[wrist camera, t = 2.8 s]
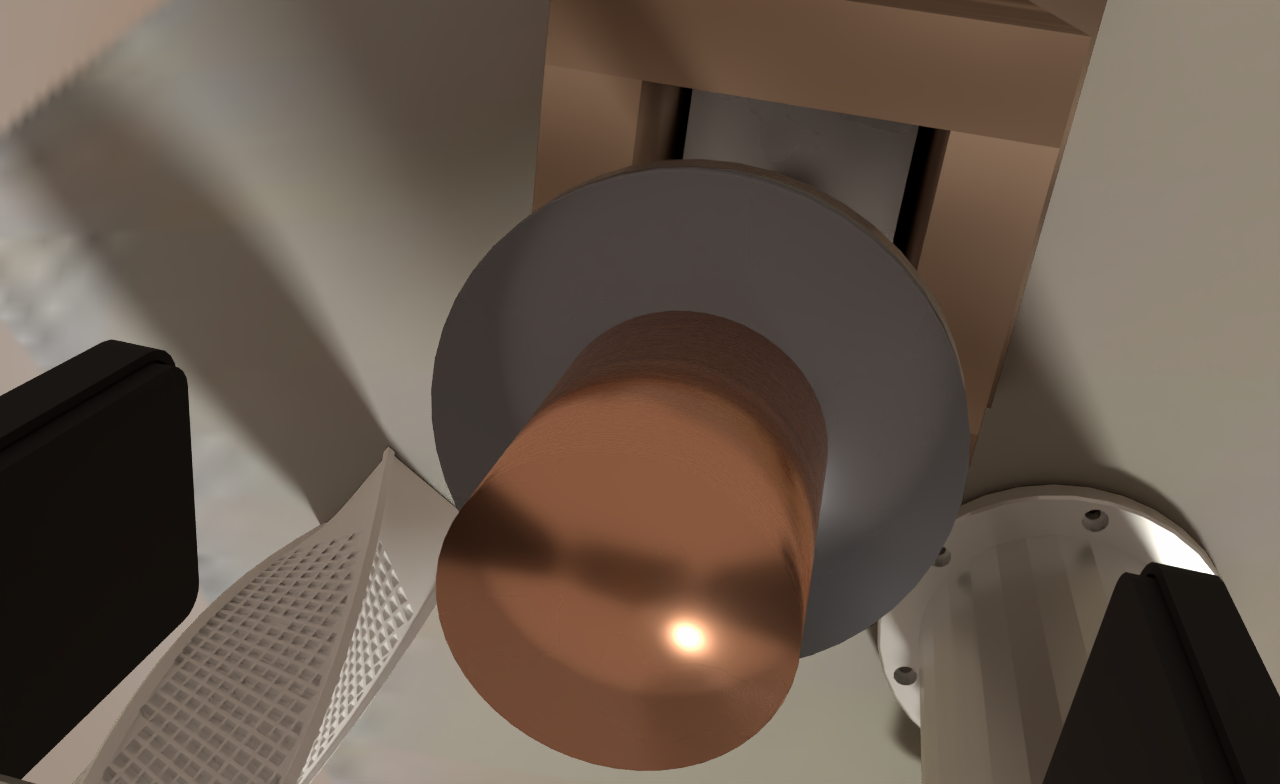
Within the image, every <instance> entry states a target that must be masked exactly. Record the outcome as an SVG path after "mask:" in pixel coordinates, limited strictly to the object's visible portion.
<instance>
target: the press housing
mask: <svg viewBox="0 0 1280 784" xmlns="http://www.w3.org/2000/svg"><path fill="white" fill-rule="evenodd" d="M1106 3H1107V0H550V10H549V21H548V33H547V45H546V57H545V69H544V80H543V92H542V104H541V116H540V128H539V139H538V151H537V163H536V175H535V187H534V198H533V210H532V213H534V212H535V211H536V210H537V209H539V208H540V207H542V206H543V205H545V204H546V203H548V202H549V201H551V200H552V199H554V198H555V197H557V196H559V195H560V194H562V193H563V192H565V191H566V190H568V189H570V188H573V187H575V186H577V185H579V184H581V183H583V182H585V181H587V180H590V179H592V178H594V177H596V176H599V175H602V174H605V173H608V172H612V171H615V170H618V169H621V168H625V167H628V166H632V165H638V164H644V163H650V162H656V161H662V160H681V159H683V154H684V147H685V140H686V133H687V126H688V119H689V112H690V105H691V98H692V91H693V89H698V90H704V91H710V92H716V93H723V94H729V95H735V96H741V97H747V98H753V99H759V100H765V101H772V102H778V103H784V104H790V105H796V106H802V107H808V108H815V109H821V110H827V111H833V112H839V113H845V114H851V115H858V116H864V117H870V118H876V119H882V120H888V121H894V122H901V123H907V124H913V125H919V128H918V132H917V137H916V141H915V146H914V150H913V154H912V159H911V163H910V168H909V172H908V176H907V181H906V185H905V189H904V194H903V198H902V203H901V207H900V211H899V216H898V220H897V224H896V229H895V233H894V238H893V242H892V243H893V244H894V245H895V246H896V247H897V248H898V249H899V250H900V251H901V252H902V253H903V254H904V256H905V257H906V258H907V259H908V261H909V262H910V263H911V264H912V266H913V267H914V268H915V269H916V271H917V272H918V273H919V274H920V276H921V277H922V278H923V279H924V281H925V283H926V285H927V286H928V288H929V290H930V291H931V293H932V295H933V296H934V298H935V300H936V302H937V303H938V305H939V307H940V308H941V310H942V312H943V315H944V317H945V320H946V322H947V324H948V327H949V329H950V332H951V334H952V336H953V339H954V341H955V344H956V348H957V352H958V356H959V360H960V364H961V368H962V372H963V376H964V384H965V391H966V399H967V408H968V418H969V428H970V450H969V466H970V462H971V459H972V455H973V452H974V448H975V445H976V441H977V438H978V434H979V431H980V427H981V424H982V420H983V417H984V413H985V410H986V407H987V408H991V405H992V401H993V398H994V394H995V391H996V387H997V384H998V380H999V377H1000V373H1001V370H1002V366H1003V363H1004V359H1005V356H1006V352H1007V349H1008V345H1009V342H1010V338H1011V335H1012V331H1013V328H1014V324H1015V321H1016V317H1017V314H1018V310H1019V307H1020V303H1021V300H1022V296H1023V293H1024V289H1025V286H1026V282H1027V279H1028V275H1029V272H1030V268H1031V265H1032V261H1033V258H1034V254H1035V251H1036V247H1037V244H1038V240H1039V237H1040V233H1041V230H1042V226H1043V223H1044V219H1045V216H1046V212H1047V209H1048V205H1049V202H1050V198H1051V195H1052V191H1053V188H1054V184H1055V181H1056V178H1057V174H1058V171H1059V167H1060V164H1061V160H1062V157H1063V153H1064V150H1065V146H1066V143H1067V139H1068V136H1069V132H1070V129H1071V125H1072V122H1073V118H1074V115H1075V111H1076V108H1077V104H1078V101H1079V97H1080V94H1081V90H1082V87H1083V83H1084V80H1085V76H1086V73H1087V69H1088V66H1089V62H1090V59H1091V55H1092V52H1093V48H1094V45H1095V41H1096V38H1097V34H1098V31H1099V27H1100V24H1101V20H1102V17H1103V13H1104V10H1105V6H1106ZM968 470H969V469H968Z"/></svg>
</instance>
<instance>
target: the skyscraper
mask: <svg viewBox="0 0 1280 784" xmlns="http://www.w3.org/2000/svg"><path fill="white" fill-rule="evenodd" d="M394 454H395V452H394V451H393V450H392V449H391V448H390V447H387V449H386V450H385V451H384V453H383V458H382V461H381V462H380V464H379V465H378V466H377V467H376V468H375V470H374V471H373V472H372V473H371V474H370V476H369V477H368V478H367V479H366V480H365V481H364V483H363V484H362V485H361V486H360V487H359V489H358V490H357V491H356V492H355V493H354V495H353V496H352V497H351V498H350V499H349V500H348V502H347V503H346V504H345V505H344V506H343V507H342V508H341V510H340V511H339V512H338V513H337V514H336V515H335V516H334V517H333V518H332V519H331V520H329V521H328V522H327V523H326V522H324V523H322V524H321V525H319V526H317V527H316V528H314V529H312V530H311V531H309V532H307V533H306V534H304V535H302V536H300V537H299V538H297V539H295V540H294V541H292V542H291V543H289V544H288V545H286V546H285V547H283V548H282V549H280V550H278V551H277V552H275V553H274V554H272V555H271V556H269V557H268V558H267V559H265V560H264V561H263V562H261V563H260V564H258V565H257V566H256V567H254V568H253V569H252V570H250V571H249V572H248V573H246V574H245V575H244V576H243V577H241V578H240V579H239V580H238V581H237V582H235V583H234V584H233V585H232V586H231V587H229V588H228V589H227V590H226V591H225V592H223V593H222V594H221V595H220V596H219V597H218V598H217V599H216V600H215V601H214V602H213V603H212V604H211V605H210V606H209V607H208V608H207V609H206V610H205V611H204V612H202V613H201V614H200V615H199V617H198V618H197V619H196V620H195V621H194V622H193V623H192V624H191V625H190V626H189V627H188V628H187V629H186V630H185V632H184V633H183V634H182V635H181V636H180V637H179V638H178V639H177V641H176V642H175V643H174V644H173V645H172V647H171V648H170V649H169V650H168V651H167V652H166V653H165V655H164V656H163V657H162V658H161V659H160V660H159V662H158V663H157V664H156V666H155V667H154V668H153V670H152V671H151V672H150V673H149V675H148V676H147V677H146V679H145V680H144V681H143V683H142V684H141V685H140V687H139V688H138V689H137V691H136V692H135V694H134V695H133V697H132V698H131V700H130V701H129V703H128V704H127V706H126V707H125V709H124V710H123V712H122V713H121V715H120V716H119V718H118V719H117V721H116V722H115V724H114V725H113V727H112V728H111V730H110V732H109V733H108V735H107V737H106V739H105V740H104V742H103V744H102V745H101V747H100V749H99V750H98V752H97V754H96V755H95V757H94V759H93V760H92V762H91V763H90V765H89V766H88V767H87V768H86V769H85V770H84V771H83V772H82V773H81V775H80V776H79V777H78V778H77V779H76V780H75V781H74V782H73V783H72V784H310V783H311V782H312V780H313V779H314V778H315V777H316V775H317V774H318V773H319V771H320V770H321V769H322V768H323V766H324V765H325V764H326V763H327V761H328V760H329V759H330V758H331V756H332V755H333V754H334V752H335V751H336V750H337V748H338V747H339V745H340V744H341V743H342V741H343V740H344V739H345V737H346V736H347V735H348V733H349V732H350V731H351V729H352V728H353V727H354V725H355V724H356V722H357V721H358V720H359V718H360V717H361V716H362V714H363V713H364V712H365V710H366V709H367V707H368V706H369V704H370V703H371V702H372V700H373V699H374V697H375V696H376V694H377V693H378V691H379V690H380V689H381V687H382V686H383V684H384V683H385V681H386V680H387V679H388V677H389V676H390V674H391V673H392V671H393V670H394V669H395V667H396V666H397V664H398V663H399V661H400V660H401V658H402V656H403V655H404V653H405V652H406V650H407V649H408V647H409V646H410V644H411V643H412V641H413V640H414V638H415V637H416V635H417V634H418V632H419V631H420V629H421V628H422V626H423V625H424V623H425V622H426V620H427V619H428V617H429V616H430V614H431V612H432V611H433V609H434V608H435V606H436V605H437V601H436V572H437V565H438V558H439V555H440V551H441V548H442V544H443V541H444V538H445V536H446V534H447V532H448V530H449V528H450V526H451V524H452V522H453V520H454V519H455V517H456V516H457V514H458V513H459V511H458V509H457V508H455V507H454V506H453V505H452V504H451V503H449V502H448V501H447V500H446V499H445V498H443V497H442V496H441V495H440V494H439V493H438V492H436V491H435V490H434V489H433V488H432V487H430V486H429V485H428V484H427V483H426V482H424V481H423V480H422V479H421V478H420V477H419V476H417V475H416V474H415V473H414V472H413V471H411V470H410V469H409V468H408V467H407V466H405V465H404V464H403V463H402V462H401V461H400V460H398V459H397V458H396V457H395V456H394Z"/></svg>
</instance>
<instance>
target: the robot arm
mask: <svg viewBox="0 0 1280 784" xmlns="http://www.w3.org/2000/svg"><path fill="white" fill-rule="evenodd" d="M1091 510H1098V511H1097V512H1095V513H1093V514H1088V513H1086V512H1089V511H1091ZM198 590H199V574H198V557H197V539H196V521H195V504H194V486H193V469H192V451H191V434H190V416H189V399H188V384H187V378H186V376H185V374H184V372H183V371H182V370H181V369H180V368H178V367H175V363H174V361H173V359H172V357H171V355H169V354H168V353H167V352H166V351H164V350H159V349H154V348H150V347H145V346H140V345H136V344H131V343H126V342H122V341H117V340H108V341H104V342H102V343H100V344H98V345H96V346H94V347H92V348H90V349H88V350H87V351H85V352H83V353H81V354H79V355H77V356H75V357H73V358H71V359H69V360H68V361H66V362H64V363H62V364H60V365H58V366H56V367H54V368H52V369H51V370H49V371H47V372H45V373H43V374H41V375H39V376H37V377H35V378H33V379H32V380H30V381H28V382H26V383H24V384H22V385H20V386H18V387H17V388H15V389H13V390H11V391H9V392H7V393H5V394H3V395H2V396H0V784H35V783H31V782H27V781H23V780H21V779H22V778H23V777H24V776H25V775H26V774H27V773H28V772H29V771H30V770H31V769H32V768H33V767H34V766H35V765H36V764H37V763H38V762H39V761H40V760H41V759H42V758H43V757H45V756H46V754H48V753H49V752H50V751H51V750H52V749H53V748H54V747H55V746H56V745H57V744H58V743H59V742H60V741H61V740H62V739H63V738H64V737H65V736H66V735H67V734H68V733H69V732H70V731H71V730H72V729H73V728H74V727H75V726H76V725H77V724H78V723H79V722H80V721H81V720H82V719H83V718H84V717H85V716H87V715H88V714H89V713H90V711H92V710H93V709H94V708H95V707H96V706H97V705H98V704H99V703H100V702H101V701H102V700H103V699H104V698H105V697H106V696H107V695H108V694H109V693H110V692H111V691H112V690H113V689H114V688H115V687H116V686H117V685H118V684H119V683H120V682H121V681H122V680H123V679H124V678H125V677H126V676H127V675H128V674H129V673H130V672H132V670H134V669H135V668H136V666H137V665H139V664H140V663H141V662H142V661H143V660H144V659H145V658H146V657H147V656H148V655H149V654H150V653H151V652H152V651H153V650H154V649H155V648H156V647H157V646H158V645H159V644H160V643H161V642H162V641H163V640H164V639H165V638H166V637H167V636H168V635H169V634H170V633H172V632H173V631H174V630H175V629H176V628H177V627H178V625H180V624H181V623H182V622H183V621H184V620H185V618H186V617H187V616H188V615H189V613H190V612H191V610H192V608H193V606H194V604H195V601H196V598H197V594H198ZM877 622H878V651H879V656H880V661H881V666H882V670H883V673H884V676H885V678H886V680H887V682H888V685H889V687H890V689H891V691H892V693H893V696H894V697H895V699H896V700H897V701H898V703H899V704H900V706H901V707H902V708H903V710H904V711H905V713H906V714H907V715H908V717H909V718H910V719H911V720H912V721H913V722H914V723H915V724H916V725H917V726H918V727H919V728H920V729H921V772H922V784H1280V696H1279V694H1278V692H1277V690H1276V688H1275V686H1274V684H1273V682H1272V680H1271V678H1270V676H1269V674H1268V672H1267V670H1266V668H1265V666H1264V664H1263V661H1262V659H1261V657H1260V655H1259V653H1258V651H1257V649H1256V647H1255V645H1254V643H1253V641H1252V639H1251V637H1250V635H1249V633H1248V631H1247V629H1246V627H1245V625H1244V623H1243V621H1242V619H1241V616H1240V614H1239V612H1238V610H1237V608H1236V606H1235V604H1234V602H1233V600H1232V598H1231V596H1230V594H1229V592H1228V590H1227V588H1226V586H1225V584H1224V582H1223V580H1222V577H1221V576H1220V574H1219V573H1218V571H1217V569H1216V568H1215V566H1214V565H1213V563H1212V561H1211V560H1210V558H1209V557H1208V555H1207V553H1206V552H1205V551H1204V550H1203V549H1202V548H1201V547H1200V546H1199V545H1198V544H1197V543H1196V542H1195V541H1194V540H1193V539H1192V537H1191V536H1190V535H1189V534H1188V533H1187V532H1186V531H1185V530H1184V529H1182V528H1181V527H1180V526H1178V525H1177V524H1175V523H1174V522H1172V521H1171V520H1169V519H1168V518H1166V517H1165V516H1163V515H1162V514H1160V513H1159V512H1158V511H1156V510H1154V509H1152V508H1150V507H1147V506H1145V505H1143V504H1141V503H1138V502H1136V501H1134V500H1131V499H1129V498H1127V497H1125V496H1121V495H1117V494H1113V493H1109V492H1105V491H1102V490H1098V489H1094V488H1090V487H1078V486H1066V485H1054V484H1053V485H1040V486H1027V487H1017V488H1013V489H1009V490H1005V491H1000V492H996V493H992V494H988V495H984V496H982V497H980V498H977V499H975V500H973V501H970V502H968V503H966V504H963V505H961V506H960V508H959V511H958V514H957V517H956V519H955V522H954V525H953V527H952V530H951V533H950V535H949V536H948V538H947V540H946V542H945V544H944V546H943V548H942V549H941V551H940V553H939V555H938V556H937V558H936V560H935V562H934V563H933V564H932V566H931V567H930V568H929V570H928V571H927V572H926V574H925V575H924V576H923V578H922V579H921V580H920V582H919V583H918V584H917V585H916V587H915V588H914V589H913V590H912V591H911V592H910V593H909V594H908V595H907V596H906V597H905V598H904V599H903V600H902V601H901V602H900V603H899V604H898V605H897V606H896V607H895V608H894V609H892V610H891V611H890V612H888V613H887V614H886V615H884V616H883V617H882V618H880V619H879V620H878V621H877Z"/></svg>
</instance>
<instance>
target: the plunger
mask: <svg viewBox="0 0 1280 784" xmlns="http://www.w3.org/2000/svg"><path fill="white" fill-rule="evenodd" d="M918 128H919V125H913V124H907V123H901V122H894V121H888V120H882V119H876V118H870V117H864V116H858V115H851V114H845V113H839V112H833V111H827V110H821V109H815V108H808V107H802V106H796V105H790V104H784V103H778V102H772V101H765V100H759V99H753V98H747V97H741V96H735V95H729V94H723V93H716V92H710V91H704V90H698V89H693V91H692V98H691V105H690V112H689V119H688V126H687V133H686V140H685V147H684V154H683V159H681V160H662V161H656V162H650V163H644V164H638V165H632V166H628V167H625V168H621V169H618V170H615V171H612V172H608V173H605V174H602V175H599V176H596V177H594V178H592V179H590V180H587V181H585V182H583V183H581V184H579V185H577V186H575V187H573V188H570V189H568V190H566V191H565V192H563V193H562V194H560V195H559V196H557V197H555V198H554V199H552V200H551V201H549V202H548V203H546V204H545V205H543V206H542V207H540V208H539V209H537V210H536V211H535V212H534V213H532V214H531V215H530V216H528V217H527V218H526V219H524V220H523V221H522V222H521V223H519V224H518V225H517V226H516V227H515V228H514V229H512V230H511V231H510V232H509V233H508V234H507V235H506V236H505V237H503V238H502V239H501V240H500V241H499V242H498V243H497V244H496V245H494V246H493V247H492V249H491V250H490V251H489V252H488V253H487V255H486V256H485V257H484V258H483V259H482V261H481V262H480V263H479V264H478V265H477V267H476V268H475V269H474V270H473V271H472V273H471V275H470V276H469V278H468V279H467V281H466V283H465V284H464V286H463V288H462V289H461V291H460V292H459V294H458V296H457V297H456V299H455V301H454V304H453V306H452V308H451V311H450V313H449V315H448V318H447V320H446V322H445V325H444V327H443V330H442V334H441V338H440V342H439V345H438V349H437V353H436V357H435V363H434V371H433V380H432V388H431V395H432V424H433V430H434V437H435V443H436V450H437V454H438V457H439V461H440V464H441V468H442V471H443V474H444V478H445V481H446V483H447V486H448V488H449V491H450V493H451V495H452V498H453V500H454V502H455V505H456V507H457V509H458V511H459V513H458V514H457V516H456V517H455V519H454V520H453V522H452V524H451V526H450V528H449V530H448V532H447V534H446V536H445V538H444V541H443V544H442V548H441V551H440V555H439V558H438V565H437V572H436V601H437V607H438V613H439V619H440V622H441V626H442V629H443V632H444V635H445V639H446V641H447V643H448V645H449V647H450V650H451V652H452V654H453V656H454V658H455V660H456V662H457V663H458V665H459V667H460V668H461V670H462V672H463V673H464V675H465V676H466V678H467V679H468V680H469V682H470V683H471V684H472V686H473V687H474V688H475V689H476V691H477V692H478V693H479V694H480V695H481V697H482V698H483V699H484V700H485V701H486V702H487V703H488V704H489V705H490V706H491V707H492V708H493V709H494V710H495V711H496V712H497V713H499V714H500V715H501V716H502V717H503V718H505V719H506V720H507V721H508V722H509V723H510V724H512V725H513V726H515V727H516V728H518V729H519V730H521V731H522V732H523V733H525V734H526V735H528V736H529V737H531V738H533V739H535V740H536V741H538V742H540V743H542V744H544V745H545V746H547V747H549V748H551V749H554V750H556V751H558V752H561V753H563V754H565V755H568V756H570V757H573V758H576V759H579V760H582V761H586V762H589V763H592V764H596V765H601V766H606V767H611V768H616V769H626V770H636V771H659V770H668V769H676V768H683V767H687V766H691V765H696V764H700V763H703V762H706V761H709V760H711V759H714V758H717V757H719V756H722V755H724V754H726V753H727V752H729V751H731V750H733V749H735V748H737V747H739V746H740V745H742V744H743V743H744V742H746V741H747V740H749V739H750V738H751V737H753V736H754V735H755V734H757V733H758V732H759V731H760V730H761V729H762V728H763V727H764V726H765V725H766V724H767V723H768V722H769V721H770V720H771V719H772V717H773V716H774V714H775V713H776V712H777V710H778V709H779V708H780V706H781V705H782V703H783V702H784V700H785V698H786V696H787V694H788V692H789V690H790V688H791V686H792V684H793V680H794V677H795V674H796V671H797V668H798V664H799V658H803V657H807V656H810V655H813V654H815V653H818V652H820V651H823V650H825V649H828V648H830V647H833V646H835V645H838V644H840V643H842V642H844V641H845V640H847V639H849V638H851V637H853V636H854V635H856V634H858V633H860V632H861V631H863V630H865V629H867V628H868V627H870V626H871V625H872V624H874V623H875V622H876V621H878V620H879V619H880V618H882V617H883V616H884V615H886V614H887V613H888V612H890V611H891V610H892V609H894V608H895V607H896V606H897V605H898V604H899V603H900V602H901V601H902V600H903V599H904V598H905V597H906V596H907V595H908V594H909V593H910V592H911V591H912V590H913V589H914V588H915V587H916V585H917V584H918V583H919V582H920V580H921V579H922V578H923V576H924V575H925V574H926V572H927V571H928V570H929V568H930V567H931V566H932V564H933V563H934V562H935V560H936V558H937V556H938V555H939V553H940V551H941V549H942V547H943V546H944V544H945V542H946V540H947V538H948V536H949V535H950V533H951V530H952V527H953V525H954V522H955V519H956V517H957V514H958V511H959V508H960V506H961V503H962V499H963V494H964V489H965V484H966V479H967V474H968V469H969V450H970V428H969V418H968V408H967V399H966V391H965V384H964V376H963V372H962V368H961V364H960V360H959V356H958V352H957V348H956V344H955V341H954V339H953V336H952V334H951V332H950V329H949V327H948V324H947V322H946V320H945V317H944V315H943V312H942V310H941V308H940V307H939V305H938V303H937V302H936V300H935V298H934V296H933V295H932V293H931V291H930V290H929V288H928V286H927V285H926V283H925V281H924V279H923V278H922V277H921V276H920V274H919V273H918V272H917V271H916V269H915V268H914V267H913V266H912V264H911V263H910V262H909V261H908V259H907V258H906V257H905V256H904V254H903V253H902V252H901V251H900V250H899V249H898V248H897V247H896V246H895V245H894V244H893V243H892V242H893V238H894V233H895V229H896V224H897V220H898V216H899V211H900V207H901V203H902V198H903V194H904V189H905V185H906V181H907V176H908V172H909V168H910V163H911V159H912V154H913V150H914V146H915V141H916V137H917V132H918Z"/></svg>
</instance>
